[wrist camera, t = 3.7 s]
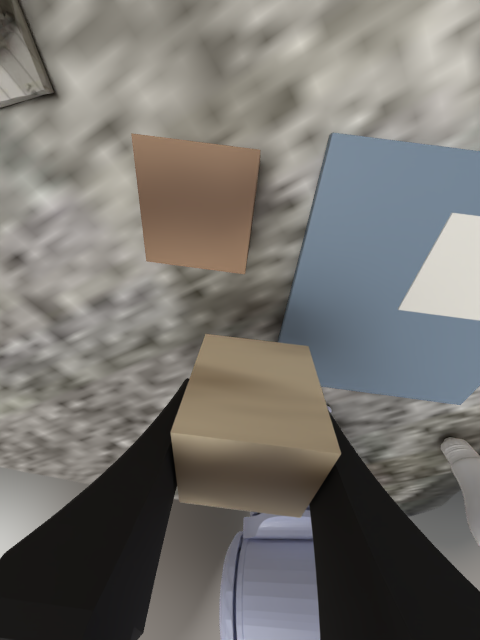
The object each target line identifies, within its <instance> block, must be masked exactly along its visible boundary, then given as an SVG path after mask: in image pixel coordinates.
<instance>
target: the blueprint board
mask: <svg viewBox="0 0 480 640" xmlns="http://www.w3.org/2000/svg"><path fill="white" fill-rule="evenodd" d="M278 343H287V344H295V345H303V346H309V349H310V353H311V356H312V359H313V363H314V366H315V369H316V372H317V376H318V379H319V382H320V386H322V387H330V388H337V389H345V390H352V391H359V392H367V393H374V394H382V395H389V396H397V397H404V398H412V399H419V400H427V401H434V402H442V403H449V404H457V405H461V404H462V403H463V402H464V401H465V400H466V399H467V398H468V397H469V396H470V395H471V394H472V393H473V392H474V391H475V390H476V389H477V388H478V387H479V386H480V151H473V150H465V149H458V148H450V147H442V146H434V145H426V144H418V143H410V142H402V141H394V140H387V139H379V138H371V137H363V136H355V135H347V134H339V133H332V134H330V136H329V140H328V144H327V147H326V151H325V155H324V159H323V163H322V167H321V171H320V175H319V179H318V183H317V187H316V191H315V195H314V199H313V203H312V207H311V211H310V215H309V219H308V223H307V227H306V231H305V235H304V239H303V243H302V247H301V251H300V255H299V259H298V263H297V267H296V271H295V275H294V279H293V283H292V287H291V291H290V295H289V299H288V303H287V307H286V311H285V315H284V319H283V323H282V327H281V331H280V335H279V339H278Z"/></svg>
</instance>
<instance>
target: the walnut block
mask: <svg viewBox="0 0 480 640" xmlns="http://www.w3.org/2000/svg"><path fill="white" fill-rule="evenodd" d="M132 143H133V151H134V160H135V168H136V177H137V185H138V193H139V202H140V210H141V219H142V227H143V236H144V244H145V253H146V261H148V262H156V263H164V264H171V265H179V266H186V267H194V268H202V269H209V270H217V271H225V272H232V273H240V274H245V270H246V264H247V258H248V252H249V244H250V237H251V229H252V221H253V213H254V205H255V198H256V190H257V182H258V174H259V166H260V150H257V149H249V148H241V147H233V146H226V145H218V144H210V143H202V142H194V141H186V140H178V139H171V138H163V137H155V136H147V135H139V134H132Z"/></svg>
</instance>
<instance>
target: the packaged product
mask: <svg viewBox="0 0 480 640" xmlns="http://www.w3.org/2000/svg"><path fill="white" fill-rule="evenodd" d="M51 93H54V91H53V89H52V86H51V84H50V81H49V78H48V76H47V73H46V71H45V68H44V66H43V63H42V61H41V58H40V56H39V53H38V51H37V48H36V46H35V43H34V40H33V38H32V35H31V33H30V30H29V28H28V25H27V23H26V20H25V18H24V15H23V13H22V10H21V8H20V5H19V3H18V0H0V108H1V107H4V106H8V105H11V104H15V103H18V102H22V101H25V100H29V99H32V98H36V97H39V96H41V95H44V94H51Z"/></svg>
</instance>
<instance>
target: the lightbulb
mask: <svg viewBox="0 0 480 640" xmlns="http://www.w3.org/2000/svg"><path fill="white" fill-rule="evenodd" d="M441 450H442V452H443V454H444V455H445V456H446V458H447V460H448V462H449V463H450V465H451V470H452V472H453V474H454V475H455V477H456V479H457V481H458V483H459V485H460V487H461V490H462V493H463V496H464V501H465V510H466V516H467V520H468V525H469V528H470V530H471V533H472V535H473V537H474V538H475V540H476V541H477V543H478V545H479V546H480V456H479V455H478V453H477V452H476V451H475V450H474V449H473V448H472V447H471V446H470V445H469V443H468V442H467V441H465V440H463V439H459V438H454V437H448V438H446V439H445V440H444V442H443V443H442V444H441Z"/></svg>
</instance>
